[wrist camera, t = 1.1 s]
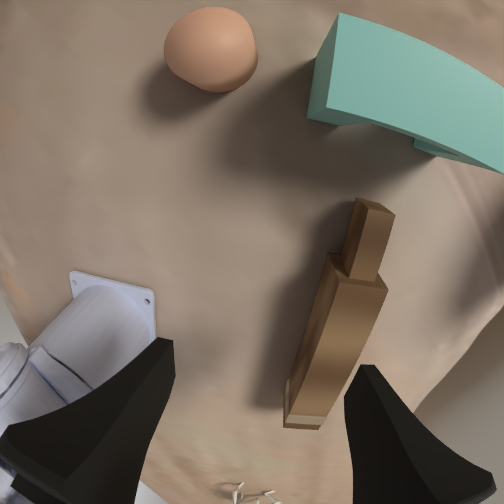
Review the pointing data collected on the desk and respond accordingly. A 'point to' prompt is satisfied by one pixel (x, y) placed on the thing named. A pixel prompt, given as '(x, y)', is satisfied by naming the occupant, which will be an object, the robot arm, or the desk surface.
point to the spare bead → (212, 49)
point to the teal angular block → (408, 92)
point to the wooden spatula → (339, 318)
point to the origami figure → (276, 502)
